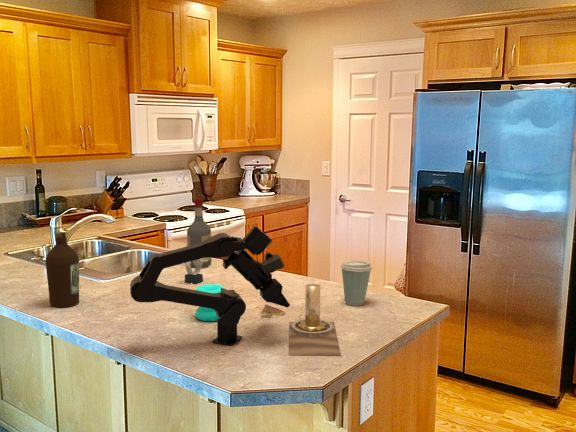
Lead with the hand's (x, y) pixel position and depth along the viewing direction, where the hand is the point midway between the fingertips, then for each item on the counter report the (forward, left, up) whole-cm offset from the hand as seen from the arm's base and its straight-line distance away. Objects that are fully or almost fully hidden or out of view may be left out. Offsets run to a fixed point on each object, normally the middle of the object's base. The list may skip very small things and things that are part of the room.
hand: (284, 301), depth 161 cm
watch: (+40, +54, -11) cm, 68 cm away
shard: (+16, +12, -11) cm, 23 cm away
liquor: (+64, +65, -11) cm, 92 cm away
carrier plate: (-1, -9, -10) cm, 14 cm away
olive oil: (-1, +81, -11) cm, 81 cm away
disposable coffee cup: (+38, -12, -11) cm, 41 cm away
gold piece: (+5, -7, -9) cm, 13 cm away
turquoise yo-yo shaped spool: (+6, +28, -11) cm, 30 cm away
